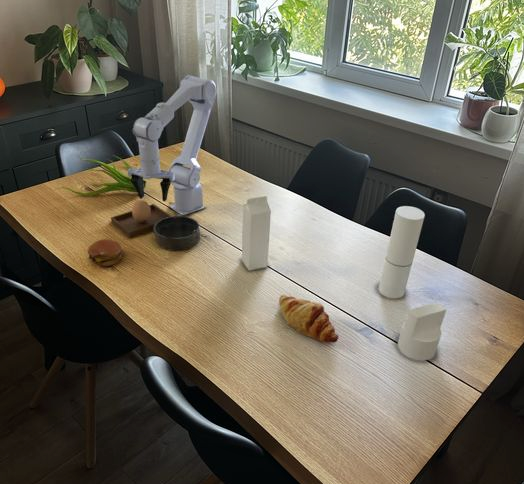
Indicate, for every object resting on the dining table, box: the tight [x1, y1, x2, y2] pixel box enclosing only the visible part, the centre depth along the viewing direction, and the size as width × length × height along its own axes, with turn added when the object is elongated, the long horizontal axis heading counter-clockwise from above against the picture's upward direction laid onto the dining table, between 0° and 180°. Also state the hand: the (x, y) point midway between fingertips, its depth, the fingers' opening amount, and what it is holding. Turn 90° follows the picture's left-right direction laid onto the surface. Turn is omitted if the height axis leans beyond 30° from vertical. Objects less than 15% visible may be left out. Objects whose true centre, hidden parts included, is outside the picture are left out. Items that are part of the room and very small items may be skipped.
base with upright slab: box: [397, 301, 447, 362], centre depth 119 cm, size 9×9×12 cm
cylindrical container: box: [378, 205, 426, 299], centre depth 133 cm, size 7×7×25 cm
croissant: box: [278, 294, 339, 343], centre depth 126 cm, size 21×10×8 cm, turn 39°
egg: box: [131, 198, 151, 222], centre depth 163 cm, size 6×6×8 cm
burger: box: [87, 238, 124, 267], centre depth 146 cm, size 10×9×5 cm
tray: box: [110, 203, 172, 239], centre depth 165 cm, size 16×12×2 cm
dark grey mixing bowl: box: [152, 215, 201, 251], centre depth 157 cm, size 14×14×4 cm
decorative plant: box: [53, 155, 147, 196], centre depth 177 cm, size 18×30×15 cm, turn 70°
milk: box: [241, 195, 272, 271], centre depth 142 cm, size 6×6×22 cm
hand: (153, 198), depth 159 cm, fingers open, 7 cm apart
